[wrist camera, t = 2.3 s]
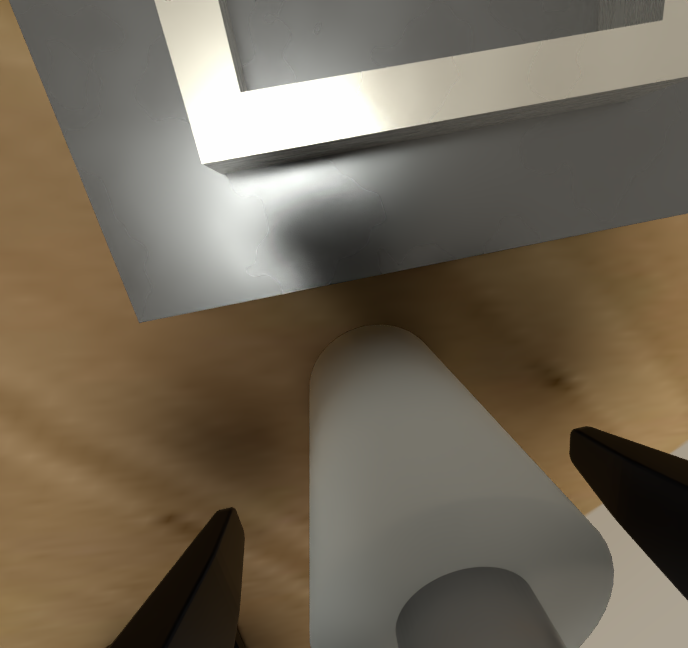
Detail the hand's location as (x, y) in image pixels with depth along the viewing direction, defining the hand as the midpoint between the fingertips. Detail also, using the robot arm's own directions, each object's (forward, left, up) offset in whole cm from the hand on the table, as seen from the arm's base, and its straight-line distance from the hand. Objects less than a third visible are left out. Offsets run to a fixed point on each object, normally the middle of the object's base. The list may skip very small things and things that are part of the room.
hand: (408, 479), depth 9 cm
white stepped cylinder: (0, 0, -5) cm, 5 cm away
